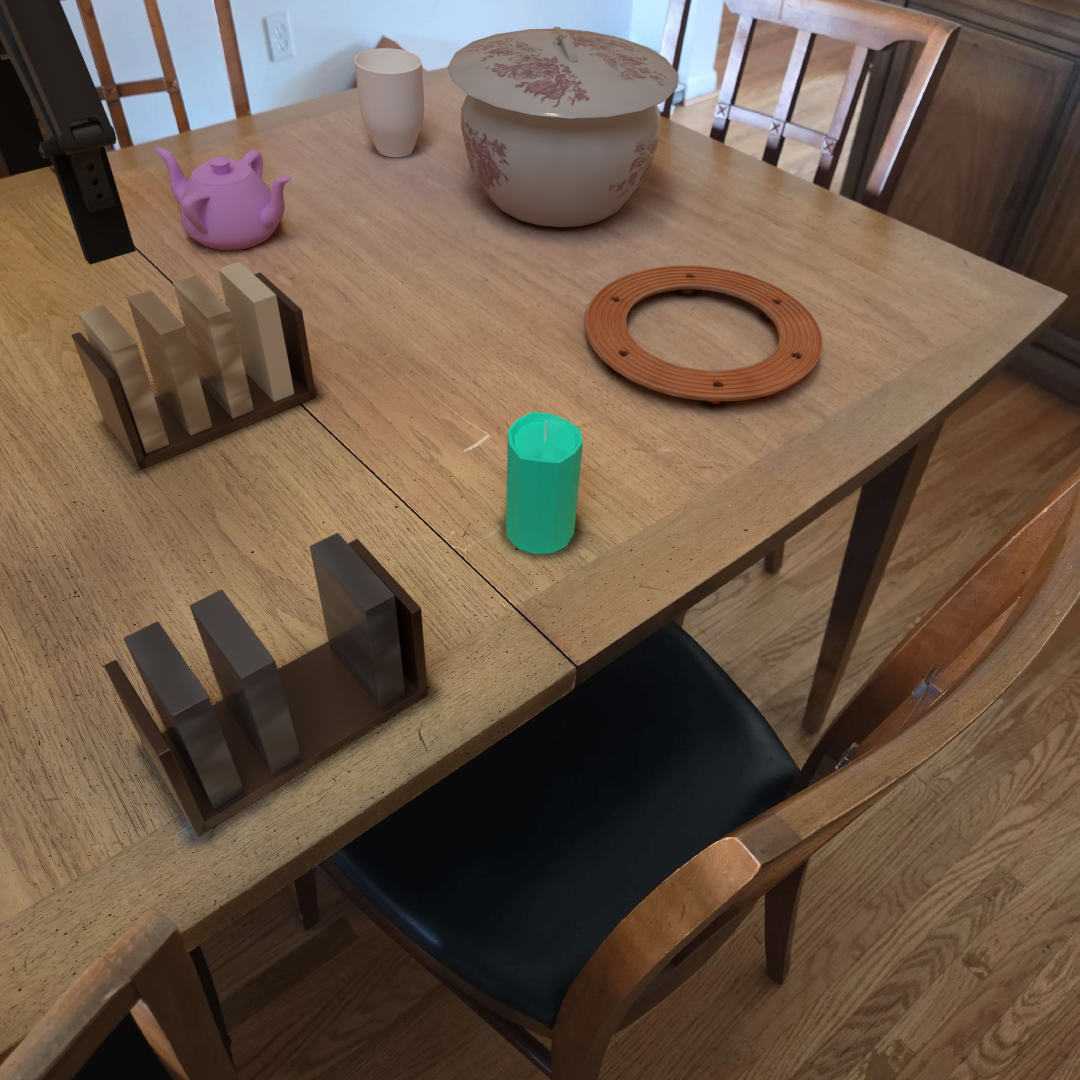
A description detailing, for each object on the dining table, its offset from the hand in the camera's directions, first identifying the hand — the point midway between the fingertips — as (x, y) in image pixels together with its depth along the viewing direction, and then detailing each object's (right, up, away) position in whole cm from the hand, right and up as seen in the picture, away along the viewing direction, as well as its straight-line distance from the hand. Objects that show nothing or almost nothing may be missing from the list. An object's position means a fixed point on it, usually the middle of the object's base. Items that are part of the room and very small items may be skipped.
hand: (68, 210), depth 58 cm
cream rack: (-2, -8, +32) cm, 33 cm away
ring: (+47, +1, +44) cm, 64 cm away
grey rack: (+12, -34, +8) cm, 36 cm away
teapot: (-8, +17, +56) cm, 59 cm away
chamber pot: (+32, +24, +65) cm, 76 cm away
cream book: (+2, -5, +34) cm, 34 cm away
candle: (+29, -20, +23) cm, 42 cm away
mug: (+9, +35, +74) cm, 83 cm away
